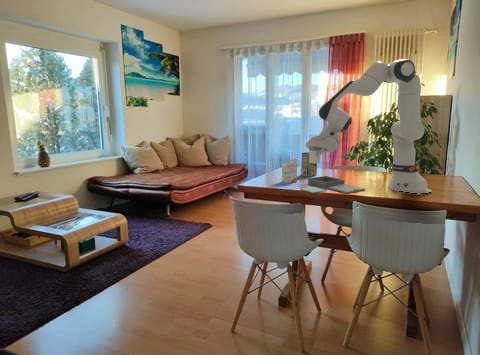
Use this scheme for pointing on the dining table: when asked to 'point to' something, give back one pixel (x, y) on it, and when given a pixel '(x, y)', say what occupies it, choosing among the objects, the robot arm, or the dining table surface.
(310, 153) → the block
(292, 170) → the ink cartridge box
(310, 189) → the pad
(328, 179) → the equipment case
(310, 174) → the coffee box
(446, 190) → the dining table surface
